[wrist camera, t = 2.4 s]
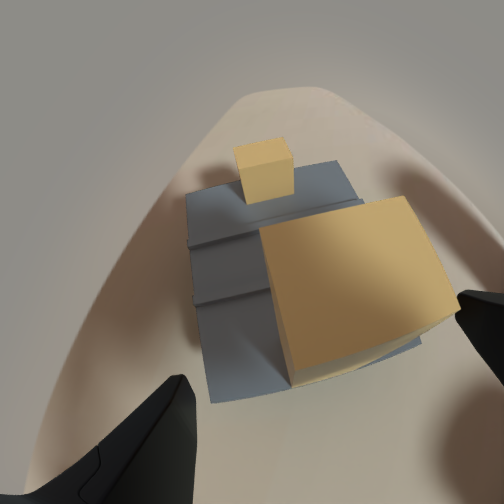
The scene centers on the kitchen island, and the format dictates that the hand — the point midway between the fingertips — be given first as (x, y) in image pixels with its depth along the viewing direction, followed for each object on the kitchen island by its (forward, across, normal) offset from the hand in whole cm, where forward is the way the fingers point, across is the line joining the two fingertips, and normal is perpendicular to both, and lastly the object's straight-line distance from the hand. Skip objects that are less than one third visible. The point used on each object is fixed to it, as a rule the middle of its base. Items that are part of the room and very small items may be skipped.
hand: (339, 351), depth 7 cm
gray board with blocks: (+8, 0, 0) cm, 8 cm away
